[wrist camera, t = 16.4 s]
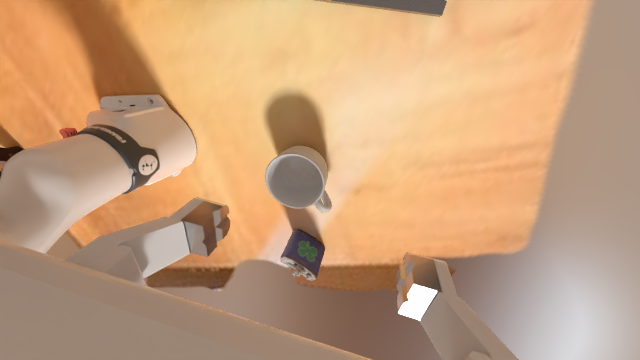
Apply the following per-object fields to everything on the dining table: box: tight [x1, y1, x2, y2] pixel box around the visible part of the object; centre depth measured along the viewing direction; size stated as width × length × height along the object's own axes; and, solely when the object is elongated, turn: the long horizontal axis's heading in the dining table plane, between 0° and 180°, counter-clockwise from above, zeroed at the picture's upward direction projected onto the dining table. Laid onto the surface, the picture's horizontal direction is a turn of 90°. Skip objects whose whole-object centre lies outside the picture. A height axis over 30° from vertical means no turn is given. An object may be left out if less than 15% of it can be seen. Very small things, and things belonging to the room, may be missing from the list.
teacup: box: [265, 146, 332, 213], centre depth 44 cm, size 14×11×8 cm
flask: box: [281, 229, 325, 281], centre depth 52 cm, size 9×3×11 cm, turn 57°
